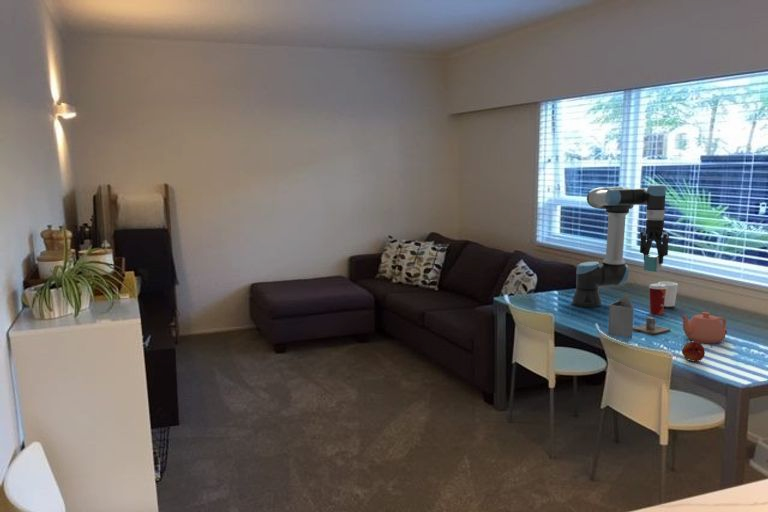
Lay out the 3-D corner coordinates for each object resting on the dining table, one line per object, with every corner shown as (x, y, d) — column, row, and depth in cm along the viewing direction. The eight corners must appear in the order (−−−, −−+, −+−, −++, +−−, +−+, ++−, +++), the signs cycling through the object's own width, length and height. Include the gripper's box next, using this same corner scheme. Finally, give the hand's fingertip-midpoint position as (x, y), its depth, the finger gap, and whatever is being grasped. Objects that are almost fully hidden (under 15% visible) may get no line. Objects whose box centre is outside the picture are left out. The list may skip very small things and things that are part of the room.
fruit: (682, 363, 232) (683, 343, 231) (680, 357, 239) (681, 337, 238) (705, 365, 229) (706, 345, 228) (702, 358, 237) (703, 339, 235)
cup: (671, 309, 314) (673, 286, 312) (653, 306, 321) (654, 283, 319) (679, 306, 320) (681, 283, 318) (661, 303, 328) (662, 280, 326)
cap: (643, 270, 273) (644, 256, 272) (651, 269, 276) (651, 255, 275) (653, 271, 269) (654, 257, 268) (661, 270, 271) (661, 256, 270)
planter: (602, 328, 282) (603, 288, 279) (619, 328, 282) (621, 288, 279) (614, 338, 266) (616, 296, 263) (632, 338, 266) (634, 295, 263)
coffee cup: (667, 315, 302) (668, 286, 300) (649, 315, 304) (651, 286, 302) (663, 311, 310) (664, 283, 308) (646, 311, 312) (647, 283, 310)
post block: (630, 329, 279) (631, 317, 278) (647, 325, 285) (647, 313, 284) (653, 335, 269) (654, 322, 268) (670, 331, 275) (670, 318, 274)
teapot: (689, 347, 252) (691, 318, 250) (668, 336, 267) (669, 309, 265) (738, 344, 254) (740, 315, 252) (714, 334, 269) (715, 307, 267)
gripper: (632, 218, 275) (630, 267, 278) (668, 221, 259) (665, 273, 263) (642, 217, 279) (640, 266, 282) (678, 219, 263) (676, 271, 266)
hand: (652, 269), depth 272 cm, fingers closed on cap, 5 cm apart
